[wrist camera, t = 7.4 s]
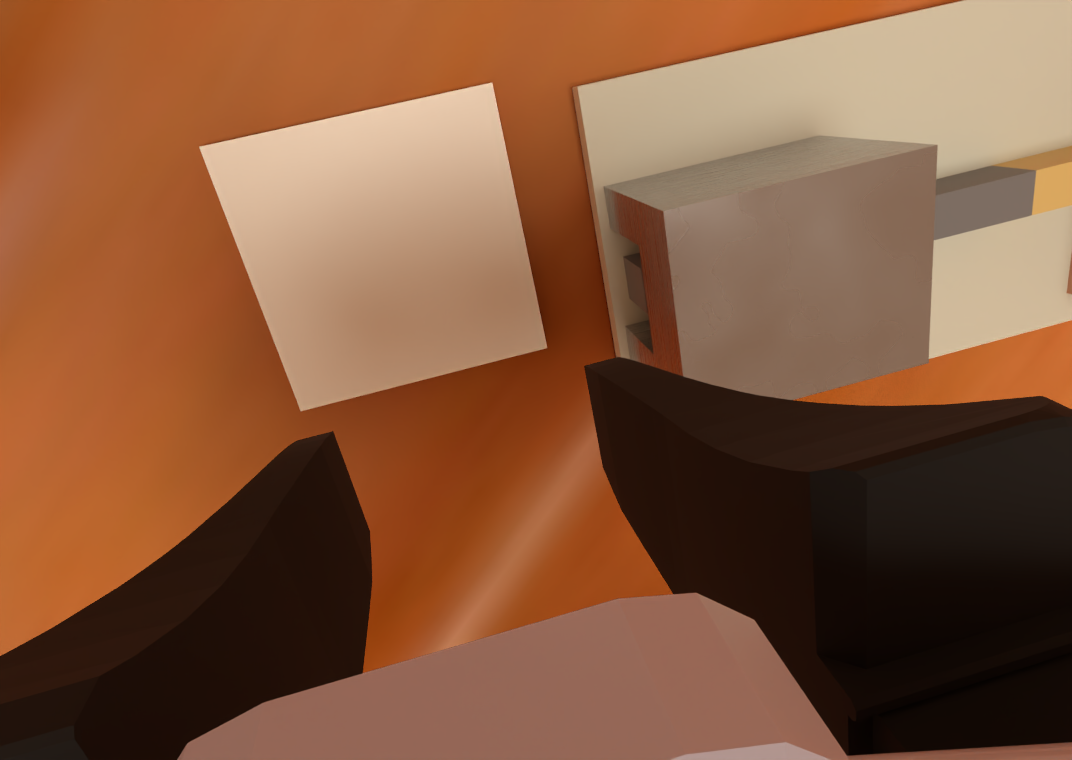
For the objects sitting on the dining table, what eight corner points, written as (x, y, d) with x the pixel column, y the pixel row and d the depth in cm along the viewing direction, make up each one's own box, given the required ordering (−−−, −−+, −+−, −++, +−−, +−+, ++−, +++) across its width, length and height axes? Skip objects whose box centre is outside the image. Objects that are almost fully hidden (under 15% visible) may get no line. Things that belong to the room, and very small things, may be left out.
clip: (823, 311, 20) (928, 363, 16) (630, 361, 20) (689, 428, 16) (818, 135, 18) (937, 145, 14) (603, 186, 18) (662, 210, 14)
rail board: (1087, 306, 22) (1204, 340, 19) (627, 430, 21) (669, 490, 18) (1135, -39, 18) (1294, -69, 15) (571, 86, 17) (612, 83, 14)
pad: (544, 343, 20) (547, 347, 19) (302, 405, 19) (301, 411, 19) (490, 83, 17) (492, 82, 16) (203, 145, 16) (198, 146, 16)
